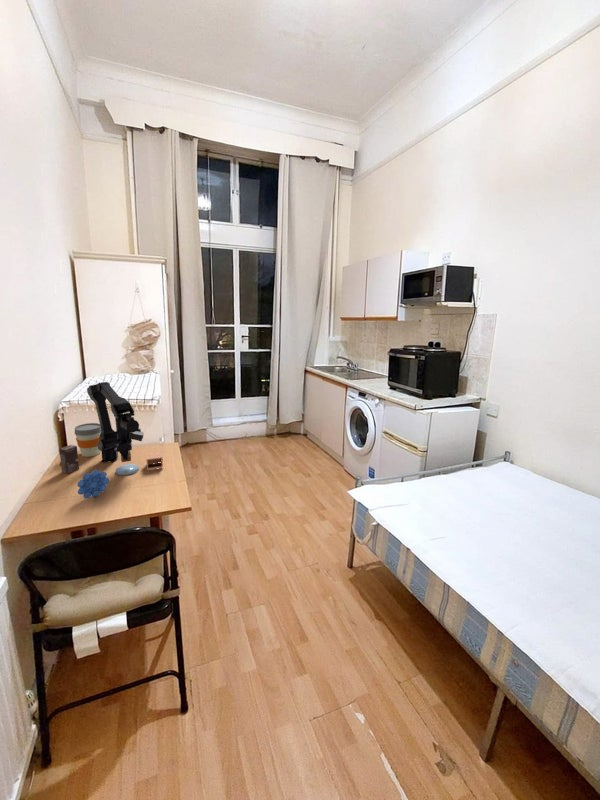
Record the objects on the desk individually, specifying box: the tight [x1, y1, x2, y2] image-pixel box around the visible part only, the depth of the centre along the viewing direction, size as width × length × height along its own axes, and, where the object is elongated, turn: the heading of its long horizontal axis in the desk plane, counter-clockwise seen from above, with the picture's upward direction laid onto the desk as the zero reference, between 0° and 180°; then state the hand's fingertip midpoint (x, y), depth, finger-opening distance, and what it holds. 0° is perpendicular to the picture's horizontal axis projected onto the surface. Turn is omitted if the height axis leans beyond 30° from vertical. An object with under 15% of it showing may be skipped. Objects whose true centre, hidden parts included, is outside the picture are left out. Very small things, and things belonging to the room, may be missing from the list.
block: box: [120, 450, 132, 463], centre depth 169 cm, size 4×4×4 cm
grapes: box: [77, 469, 110, 499], centre depth 146 cm, size 12×7×12 cm, turn 120°
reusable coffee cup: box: [74, 422, 102, 457], centre depth 188 cm, size 12×12×15 cm
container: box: [145, 451, 164, 471], centre depth 175 cm, size 7×7×6 cm
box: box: [58, 444, 80, 474], centre depth 168 cm, size 6×4×12 cm
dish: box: [115, 463, 140, 476], centre depth 171 cm, size 10×10×1 cm
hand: (126, 458), depth 169 cm, fingers closed on block, 4 cm apart
